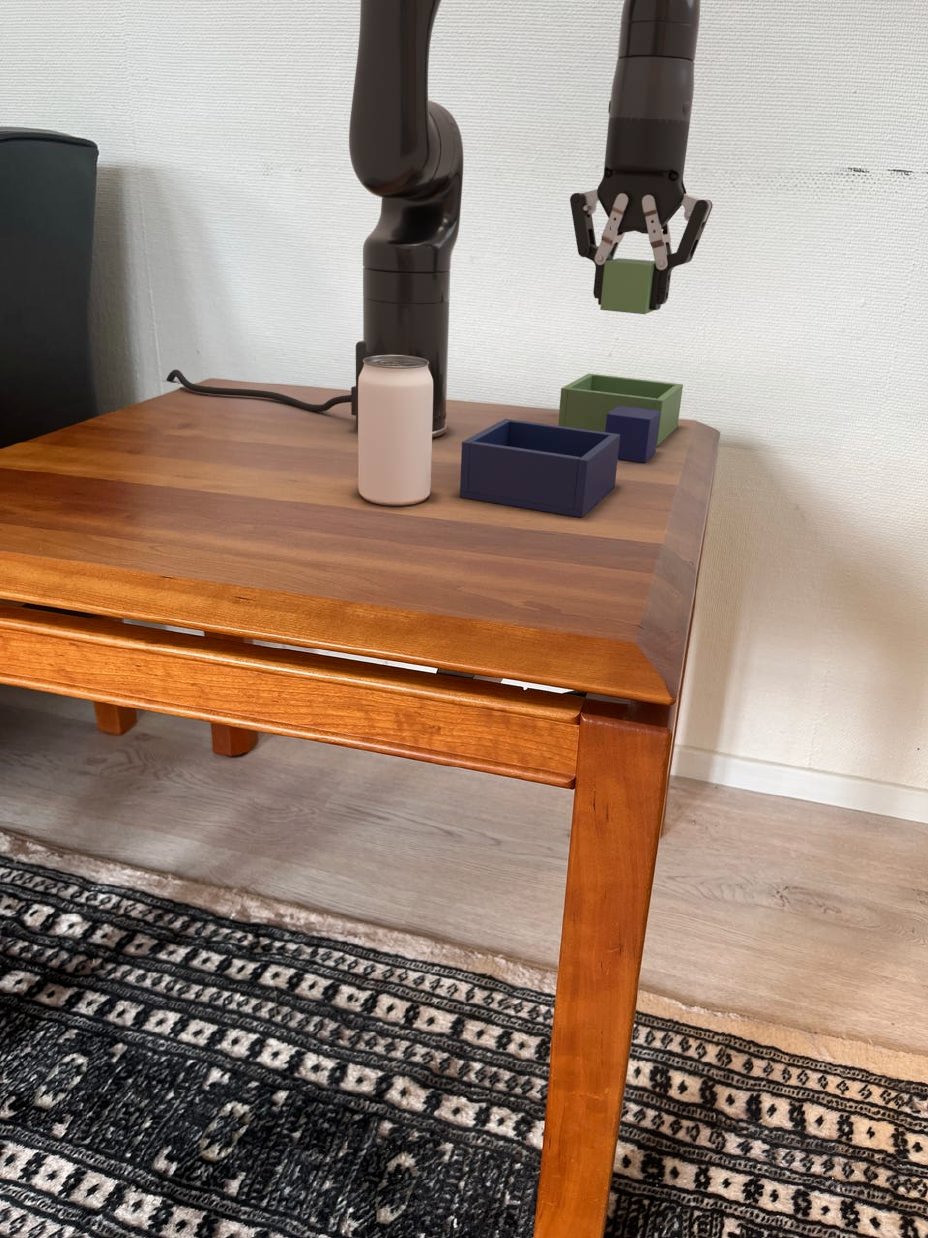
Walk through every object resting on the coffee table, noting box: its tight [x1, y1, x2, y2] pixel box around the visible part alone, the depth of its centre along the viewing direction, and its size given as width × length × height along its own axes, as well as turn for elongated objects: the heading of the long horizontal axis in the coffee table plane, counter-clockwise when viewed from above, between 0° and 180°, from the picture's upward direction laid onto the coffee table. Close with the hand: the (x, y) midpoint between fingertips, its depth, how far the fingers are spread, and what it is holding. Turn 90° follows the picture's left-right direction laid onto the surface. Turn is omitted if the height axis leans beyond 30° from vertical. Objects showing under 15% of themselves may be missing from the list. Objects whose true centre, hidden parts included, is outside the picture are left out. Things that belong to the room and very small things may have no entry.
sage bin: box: [557, 372, 684, 448], centre depth 114 cm, size 12×11×5 cm
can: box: [357, 355, 433, 507], centre depth 86 cm, size 6×6×12 cm
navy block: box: [605, 406, 660, 464], centre depth 104 cm, size 5×5×5 cm
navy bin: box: [459, 418, 620, 518], centre depth 91 cm, size 12×11×5 cm
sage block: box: [599, 257, 656, 315], centre depth 98 cm, size 5×5×5 cm
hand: (628, 305), depth 99 cm, fingers closed on sage block, 4 cm apart
